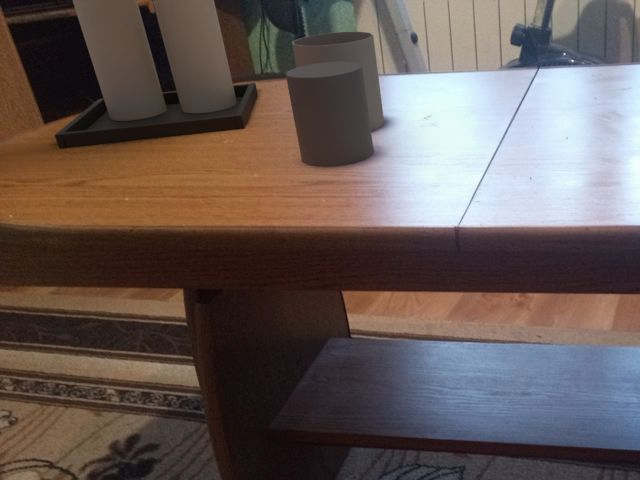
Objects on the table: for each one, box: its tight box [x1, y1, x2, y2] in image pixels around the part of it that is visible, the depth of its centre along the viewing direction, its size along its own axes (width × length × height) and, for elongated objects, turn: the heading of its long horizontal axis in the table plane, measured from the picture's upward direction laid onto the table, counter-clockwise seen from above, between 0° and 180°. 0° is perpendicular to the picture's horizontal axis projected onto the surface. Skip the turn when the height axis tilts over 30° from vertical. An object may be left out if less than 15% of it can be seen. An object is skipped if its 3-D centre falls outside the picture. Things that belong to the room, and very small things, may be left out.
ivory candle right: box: [152, 0, 237, 113], centre depth 92 cm, size 7×7×15 cm
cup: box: [291, 31, 385, 132], centre depth 79 cm, size 8×8×10 cm
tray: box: [54, 82, 259, 149], centre depth 91 cm, size 21×19×2 cm
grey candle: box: [285, 62, 375, 168], centre depth 70 cm, size 7×7×9 cm
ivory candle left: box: [72, 0, 167, 121], centre depth 91 cm, size 7×7×15 cm
